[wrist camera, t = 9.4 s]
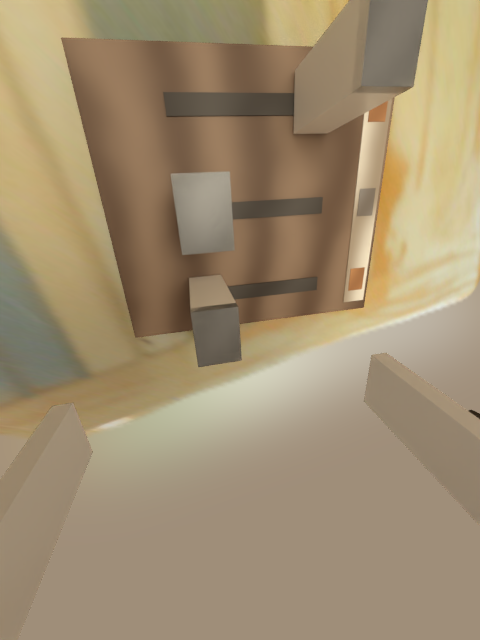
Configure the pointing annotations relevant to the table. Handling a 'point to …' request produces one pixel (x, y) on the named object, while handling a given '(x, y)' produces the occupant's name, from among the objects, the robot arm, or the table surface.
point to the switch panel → (245, 177)
